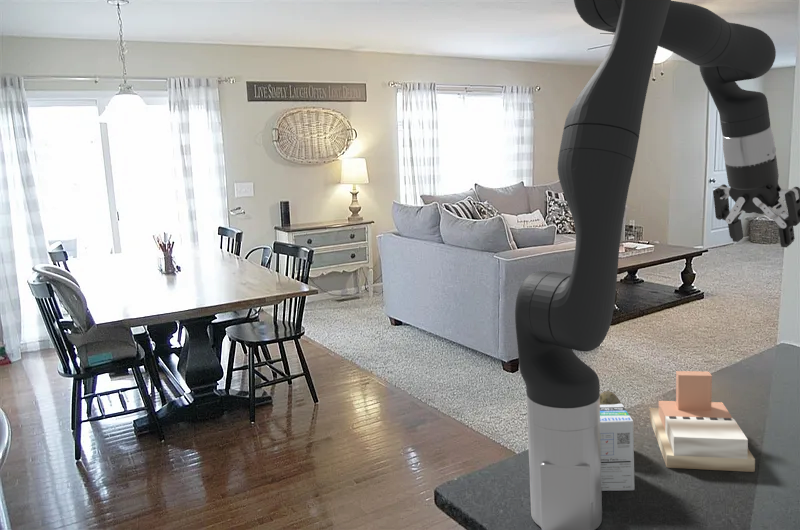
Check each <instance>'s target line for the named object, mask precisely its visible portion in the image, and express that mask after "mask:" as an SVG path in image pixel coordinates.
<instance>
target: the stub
mask: <svg viewBox="0 0 800 530" xmlns="http://www.w3.org/2000/svg"><path fill="white" fill-rule="evenodd" d="M675 372H676V373H675V377H676V378H675V400H658V408H659V416H660V419H661V421H662V424H663V426H664V429H665V416H678V417H711V418H733V417H732V414H731V413H730V412H729V410H728V409H727V407H726V406H725V404H724V403H723V402H722V401H720V402H719V401H717V402H715V401H712V398H713V397H712V393H713V392H712V391H713V389H712V388H713V387H712V386H713V385H712V383H713V381H712V380H713V379H712V378H713V375H712V374H711V373H710V371H701V370H700V371H699V370H698V371H696V370H695V371H694V370H689V371H688V370H684V371H683V370H676V371H675Z"/></svg>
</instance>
